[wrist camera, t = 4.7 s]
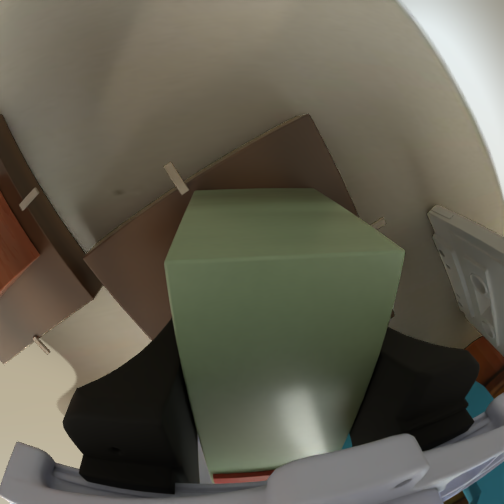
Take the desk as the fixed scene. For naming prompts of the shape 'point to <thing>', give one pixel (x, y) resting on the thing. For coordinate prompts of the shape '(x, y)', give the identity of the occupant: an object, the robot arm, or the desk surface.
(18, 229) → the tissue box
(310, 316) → the green box
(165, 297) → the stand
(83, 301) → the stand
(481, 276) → the cassette
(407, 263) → the desk surface
